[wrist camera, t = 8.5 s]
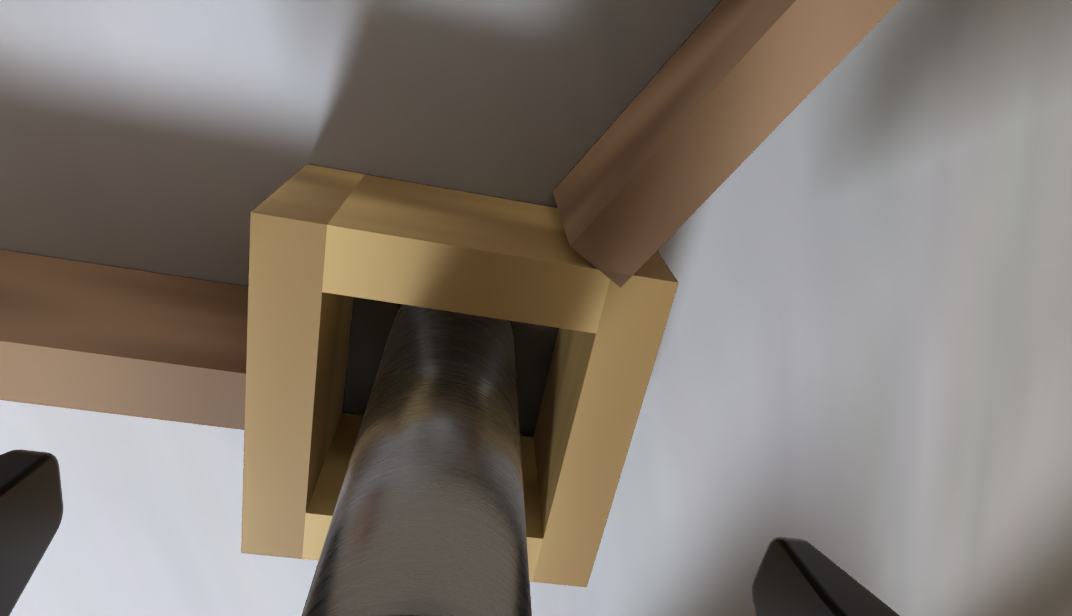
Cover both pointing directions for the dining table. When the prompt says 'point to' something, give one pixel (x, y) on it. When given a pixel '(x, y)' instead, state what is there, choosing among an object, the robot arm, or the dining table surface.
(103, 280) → the tan piece
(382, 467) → the hinge pin
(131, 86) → the dining table surface
